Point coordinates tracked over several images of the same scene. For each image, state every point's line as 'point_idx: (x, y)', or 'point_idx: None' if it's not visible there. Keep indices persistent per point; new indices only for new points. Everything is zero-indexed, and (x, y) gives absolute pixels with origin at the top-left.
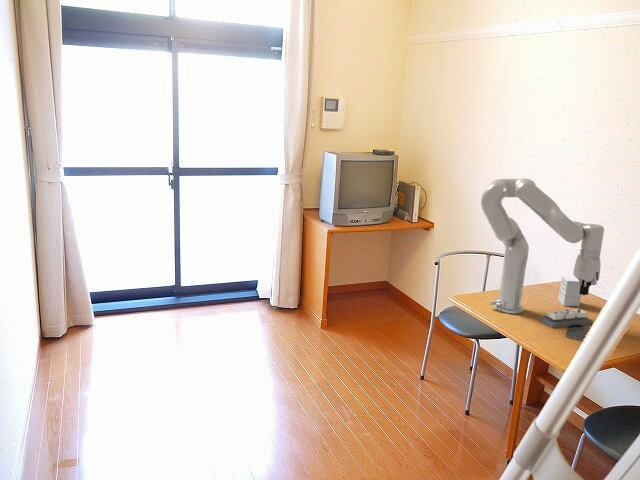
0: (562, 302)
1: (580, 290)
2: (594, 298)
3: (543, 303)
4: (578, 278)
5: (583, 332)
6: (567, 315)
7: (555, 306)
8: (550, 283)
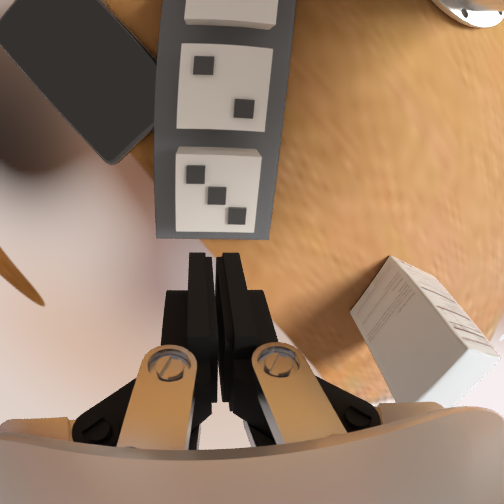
0: (406, 264)
1: (232, 280)
2: (363, 393)
3: (448, 181)
4: (383, 416)
5: (53, 77)
6: (182, 51)
7: (404, 209)
8: (489, 337)
